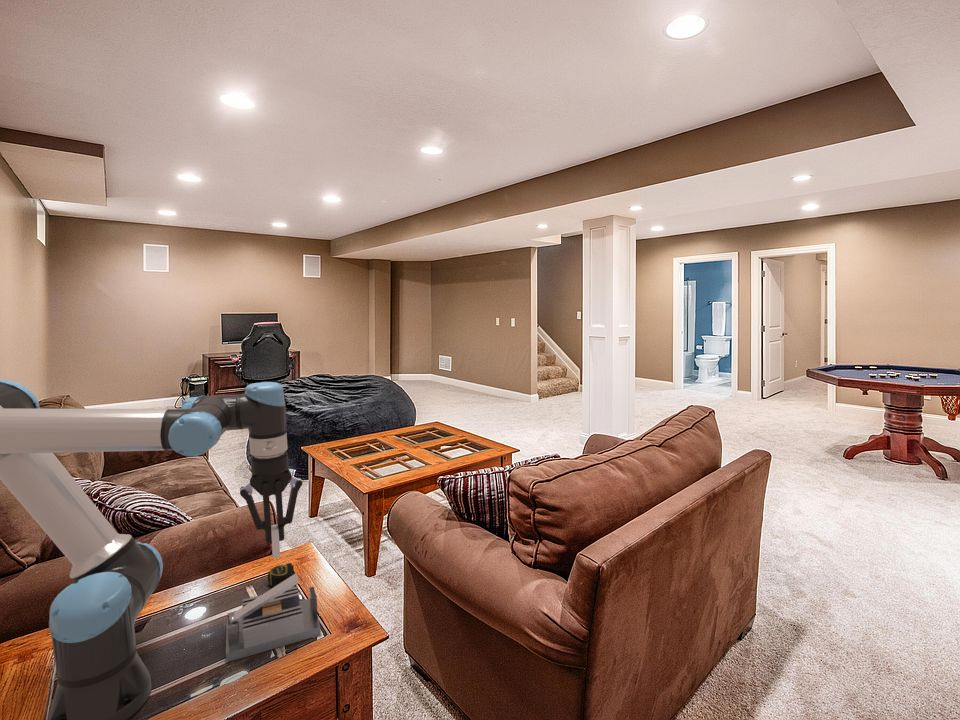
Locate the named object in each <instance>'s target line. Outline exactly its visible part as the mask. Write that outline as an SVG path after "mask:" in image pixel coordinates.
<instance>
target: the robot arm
mask: <svg viewBox="0 0 960 720" xmlns="http://www.w3.org/2000/svg"><path fill="white" fill-rule="evenodd" d="M284 392H285V391H284V387H283V385H282V384H281V383H280V382H276V381H275V382H274V381H261V382H255V383H250V384H248V385H246V387H245V391H244V393H238V394H220V395H200V396H193V397H188V398H185V399H184V400H183V401H182V404H181V406H180V408H173V409H172V408H171V409H169V408H40V403H39V399H38V398H37V397H36V395H35V394H34V393H33V392H32V390H30V389H29V388H27V387H26V386H25V385H23V384H21V383H18V382H15V381H13V380H7V379H1V378H0V481H1V482H2V484H4V486H5V487H6V488H7V490H9V492H10V493H11V494H12V495H13V497H15V499H16V500H17V501H18V502H19V503H20V505H21V506H22V507H23V508H24V509H25V511H26V512H27V513H28V514H29V515H30V516H31V518H32V519H33V520H34V521H35V522H36V523H37V525H39V526H40V527H39V528H41V529H42V530H43V532H44V533H45V534H46V535H47V536H48V537H49V539H50V541H52V542H53V544H54V545H55V546H56V547H57V548H58V550H60V552H62V555H64V556H65V558H66V559H67V560H68V561H69V562H70V563H71V565H72V566H71V569H70V572H69V578H70V579H71V580H72V581H73V582H74V583H70V584H69V585H67V586H66V587H65V588H63V590H61V591H60V592H59V593H58V594H57V595H56V597H54V598H53V599H54V600H52V602H51V604H50V607H49V620H48V628H49V632H50V636H51V644H52V650H53V658H54V665H55V672H56V679H57V686H56V688H55V691H54V695H53V699H52V702H51V706H50V709H49V713H48V720H129V719H130V718H131V717H132V716H133V715H135V714H136V713H137V712H138V711H139V710H140V709H141V708H142V707H143V706H144V704H146V702H147V700H148V699H149V697H150V695H151V692H152V680H151V679H152V678H151V675H150V671H149V669H148V668H147V666H146V665H145V663H144V662H143V660H142V659H141V657H140V655H139V654H138V652H137V651H138V650H137V644H136V634H135V633H136V632H135V623H136V620H137V619H138V617H139V616H140V614H141V612H142V610H143V609H144V608H145V606H146V604H147V602H148V601H149V599H150V598H151V596H152V595H153V593H155V591H156V589H157V587H158V586H159V583H160V581H161V577H162V574H163V569H164V565H163V558H162V555H161V553H160V552H159V551H158V550H157V548H155V547H154V546H152V545H151V544H149V543H147V542H144V543H142V542H141V541H136V540H135V538H134V537H133V536H132V535H131V534H126V533H118V532H117V530H116V529H115V527H114V526H113V525H112V524H111V523H110V522H109V520H108V519H107V518H106V517H105V515H103V513H102V512H101V510H100V509H99V508H98V507H97V506H96V504H95V503H94V502H93V501H92V499H91V498H90V497H89V495H87V493H86V491H84V490H83V488H82V487H81V486H80V484H79V483H78V482H77V481H76V479H74V477H73V476H72V475H71V474H70V472H69V471H68V470H67V468H66V467H65V466H64V465H63V464H62V462H61V461H60V460H59V458H58V457H57V456H56V455H55V453H56V454H57V453H59V454H60V453H100V452H104V453H105V452H108V453H109V452H149V451H150V452H151V451H152V452H153V451H155V452H157V451H174V452H175V453H178V454H180V455H182V456H184V457H189V458H191V457H198V456H201V455H204V454H205V453H207V452H208V451H209V450H211V449H212V448H213V447H215V446H216V445H217V443H218V442H219V441H220V440H221V437H222V435H223V434H225V432H227V431H236V430H237V431H238V430H248V441H249V452H250V455H251V456H250V466H251V467H250V468H251V477H250V479H249V483H247V484H246V485H245V486H241V487H240V488H239V494H240V496H241V497H242V498H243V499H244V500H245V502H246V505H247V507H248V510H249V512H250V513H249V514H250V516H251V518H252V521H253V523H254V525H255V529H256V530H257V531H259V530H264V531H265V533H264V534H265V535H264V536H265V543H266V544H267V545H268V544H271V554H272V558H273V559H277V558H280V557H281V549H280V547H281V546H280V542H282V541H284V540H285V526H286V525H287V524H291V523H293V519H294V513H295V509H296V502H297V500H298V499H297V498H298V493H299V491H300V489H301V487H302V485H303V479H302V478H301V477H295V476H293V475H292V472H291V471H290V464H289V453H288V451H287V450H288V449H289V447H288V437H287V436H288V433H287V416H286V415H287V414H286V411H287V410H286V401H285V393H284ZM289 484H290V492H289V498H288V502H287V507H286V512H285V516H284V509H283V508H284V507H283V505H284V504H283V492H284V491H285V490H286V488H287V486H288V485H289ZM253 489H254V491H256V492H257V493H258V494H259V495H260V496H262V503H263V504H262V505H263V520H261V519H262V518H261V517H260V514H259V512H258V508H257V505H256V503H255V499H254V496H253V495H252V494H253ZM270 496H274V497H275V509H276V522H277V523H276V524H272V519H271V518H272V517H271V506H270V505H271V504H270V503H271V502H270Z"/></svg>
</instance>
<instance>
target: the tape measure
mask: <svg viewBox="0 0 960 720" xmlns="http://www.w3.org/2000/svg"><path fill="white" fill-rule="evenodd" d="M295 573H296V571H295V568H294V564H293V563H291V562H288V563H286V564H280V565H279V564H278V565H275V566H273V567H272V568H270V569H269V571H268V573H267V582H268V584H269V586H271V587H272V588H273V587H275V586H277V585H278V584H280V583H281V582H283V581H284V580H286V579H288V578H289V577H291V576H292V575H294V574H295Z"/></svg>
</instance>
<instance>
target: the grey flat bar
mask: <svg viewBox="0 0 960 720" xmlns="http://www.w3.org/2000/svg"><path fill="white" fill-rule="evenodd" d="M299 582H300V580H299V577H298V575H297V572H295V574H294V575H292V576H291V577H289V578H288V579H286V580H284V581H283V582H281V583H280V584H278V585H277V586H275V587H272V588H270V589H269V590H267V591H266V592H264V593H263V594H260V595H261V596H260V595H258V596H259V597H258V598H256V599H255V600H253V601H252V602H250V603H248V604H247V605H245V606H244V607H243V606H242V607H241V608H239V609H237V610H236V612H235V611H232V612H233V613H231V612H230V613H231V614H230V615H229V625H232V624H236V623H237V622H239V621H240V620H242V619H243V618H245V617H246V616H248V615H250V614H251V613H253V612H254V611H256V610H257V609H259V608H260V607H262V606H263V605H265V604H267V603H268V602H270V601H271V600H273V599H274V598H276V597H277V596H279V595H280V594H282V593H284V592H285V591H287V590H288V589H290V588H292V587H295V586H296V585H297V584H299Z"/></svg>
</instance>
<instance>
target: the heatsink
mask: <svg viewBox="0 0 960 720" xmlns="http://www.w3.org/2000/svg"><path fill="white" fill-rule="evenodd" d="M298 588H299V587H298V586H296V585H295V586H293V587H291V588H290V589H288V590H287V591H285V592H284V593H282V594H280V595H279V596H277V597H276V598H274V599H273V600H271V601H270V602H268V603H267V604H265V605H263V606H262V607H260V608H259V609H257V610H256V611H254V612H253V613H251V614H250V615H248V616H246V617H245V618H243V619H242V620H240V621H239V622H237V623H236V624H232V625H229V615H230V614H231V613H233V612H236V611H237V610H236V611H232V612H228V613H227V619H226V624H225V626H226V631H225V662H226V663H230V662H234V661H237V660H241V659H244V658H247V657H250V656H254V655H257V654H260V653H264V652H268V651H271V650H273V649H274V650H275V649H278V648H282V647H284V646H288V645H292V644H295V643H299V642H301V641H306V640H309V639H312V638H317V637H319V636H321V633H322V631H321V629H322V628H321V625H320V624H321V623H320V620H319V617H318V598H317V594H316V591H315V587H314V586H309V587H308V590H309V591H308V592H309V598H307V599H303V600H300V593H299V589H298ZM261 595H262V594H260V595H256V596H251V597H248V598H243V599H242V605H241V606H242V607H244V606H245V605H247V604H248V603H250V602H252V601H253V600H255V599H256V598H258V597H259V596H261Z"/></svg>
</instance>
